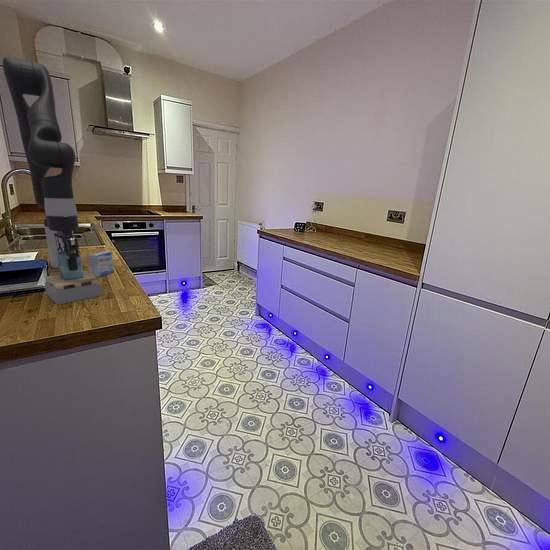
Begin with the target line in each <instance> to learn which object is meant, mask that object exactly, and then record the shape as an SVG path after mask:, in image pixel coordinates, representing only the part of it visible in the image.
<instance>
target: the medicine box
mask: <svg viewBox="0 0 550 550" xmlns="http://www.w3.org/2000/svg"><path fill="white" fill-rule="evenodd" d="M112 253H113V252H112V251H106V250H102V251H98V252H95V253H90V254H87V263H88V270H89V273H90V274H92V275H94V276H95V277H97V278H100V277H103V275H104V276H106V274H107V275H109V273H110V274H112V273H114V272H115V271H114V270H115V269H114V262H113V254H112Z"/></svg>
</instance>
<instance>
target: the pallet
mask: <svg viewBox="0 0 550 550" xmlns="http://www.w3.org/2000/svg"><path fill="white" fill-rule="evenodd" d="M82 272H83V278H77V279H71V280H63V279H62V278H61V277H60V275H59V274H56V275H50V276H49V275H48V276H45V280H46V282H48V283H49V284H50V285H51V286H52V287H53V288H54V289H56V290H57V291H61V290H64V287H63V286H66V285H72V286H73V287H75V288H78V287H81V283H83V282H88V283H90V284H91V285H94V284H97V282H98V277H96V276H94V275H92V274H90V272H88V271H86V270H82Z"/></svg>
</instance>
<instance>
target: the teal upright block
mask: <svg viewBox="0 0 550 550" xmlns="http://www.w3.org/2000/svg"><path fill="white" fill-rule="evenodd" d="M71 254H73V251H71ZM56 257H57V263H58V268H57V270H58V273H59V274H58V275H60V277H61V278H62V279H63V280H71V279H77V278H83V272H82V271H83V264H82V260H81V252H79V257H77V258H76V259H77V266H78V270H74V271H70V270H69V267H68V261H67V257H66V253H65V252H63V251H62V252H56Z"/></svg>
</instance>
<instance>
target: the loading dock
mask: <svg viewBox="0 0 550 550" xmlns="http://www.w3.org/2000/svg"><path fill="white" fill-rule="evenodd" d="M44 286H45V287H44V288H45V294H46V295H47V296H48V297H49V298H50V300H52V301H53V302H54V304H56V305H57V306H58V305H63V304H67V303H68V304H69V303H73V302H77V301H78V302H79V301H81V300H82V301H83V300H86V299H92V298H96V297H101V296H102V295H103V293H102V287H101V283H100V282H98V281H97V284H94V285H91V284H90V283H88V282H83V283H81V287H78V288H75V287H73V286H72V285H66V286H63V287H64V290H61V291H57V290H56V289H54V288H53V287H52V286H51V285H50V284H49V283H48V282H47V281H46V282H45V281H44Z"/></svg>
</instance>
